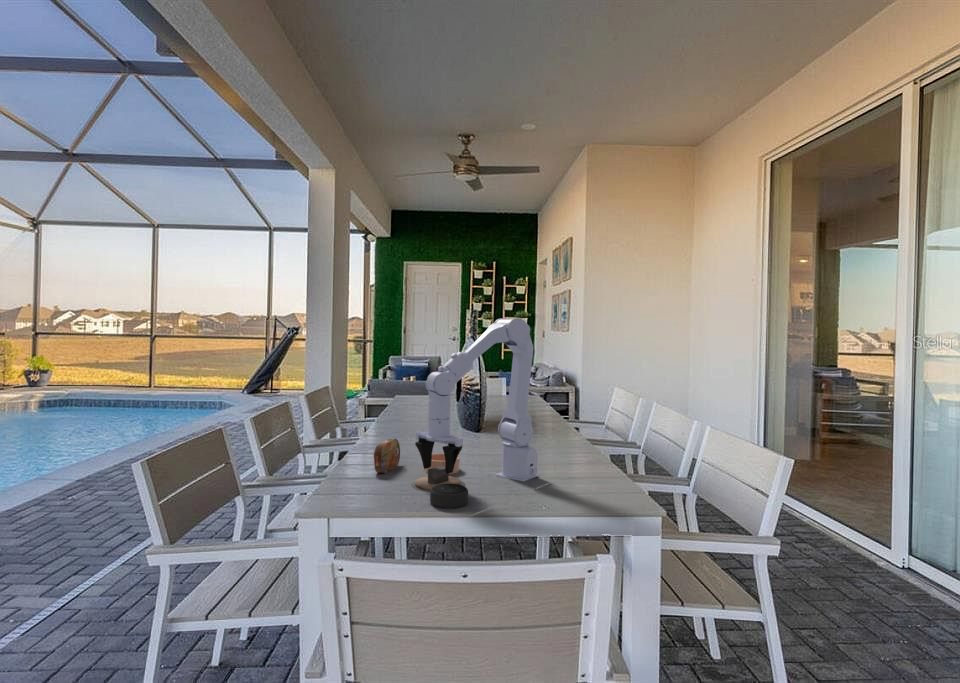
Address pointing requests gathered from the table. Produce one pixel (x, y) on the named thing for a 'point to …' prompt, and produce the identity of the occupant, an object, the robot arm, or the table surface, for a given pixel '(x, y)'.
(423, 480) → the lid
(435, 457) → the bowl
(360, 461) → the table surface
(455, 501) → the smart speaker
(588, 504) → the table surface
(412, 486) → the coaster
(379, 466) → the tin
